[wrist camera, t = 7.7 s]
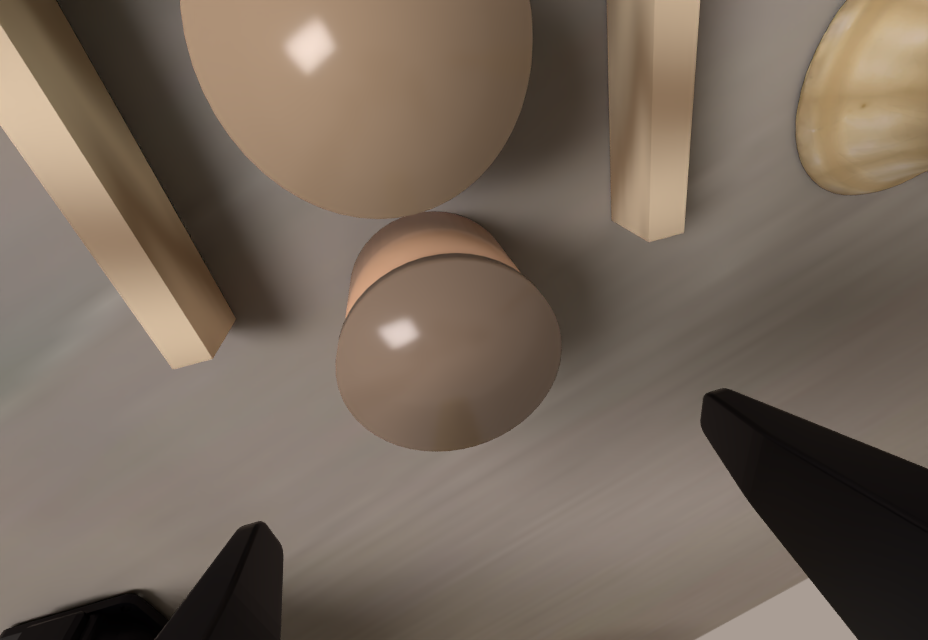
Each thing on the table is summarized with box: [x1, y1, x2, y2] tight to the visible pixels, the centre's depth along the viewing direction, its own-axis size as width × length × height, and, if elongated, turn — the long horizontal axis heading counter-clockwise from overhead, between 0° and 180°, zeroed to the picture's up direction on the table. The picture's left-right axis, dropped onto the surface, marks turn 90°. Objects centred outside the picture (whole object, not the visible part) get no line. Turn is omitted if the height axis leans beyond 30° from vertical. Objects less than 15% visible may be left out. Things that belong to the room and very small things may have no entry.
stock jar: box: [180, 0, 533, 219], centre depth 10 cm, size 6×6×5 cm
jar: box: [336, 211, 562, 451], centre depth 14 cm, size 6×6×5 cm
